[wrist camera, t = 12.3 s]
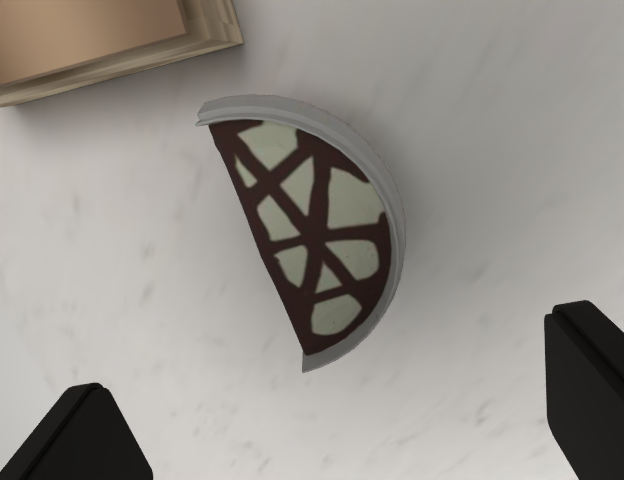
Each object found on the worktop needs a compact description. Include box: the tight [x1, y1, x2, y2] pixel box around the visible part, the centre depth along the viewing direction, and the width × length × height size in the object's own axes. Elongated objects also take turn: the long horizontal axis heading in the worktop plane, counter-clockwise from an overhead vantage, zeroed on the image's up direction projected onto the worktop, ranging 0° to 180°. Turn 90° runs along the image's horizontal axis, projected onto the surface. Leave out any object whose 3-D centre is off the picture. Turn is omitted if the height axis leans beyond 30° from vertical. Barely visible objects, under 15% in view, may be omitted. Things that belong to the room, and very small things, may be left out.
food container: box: [195, 94, 406, 373], centre depth 21 cm, size 12×6×10 cm, turn 19°
